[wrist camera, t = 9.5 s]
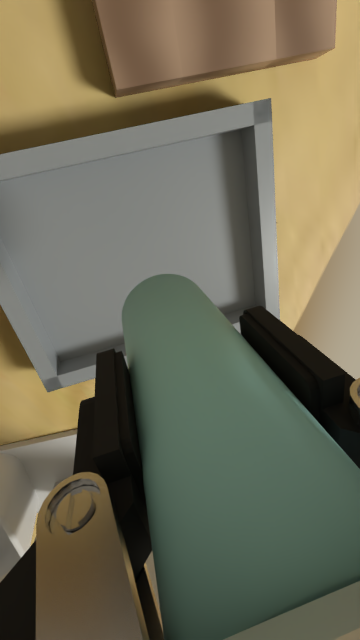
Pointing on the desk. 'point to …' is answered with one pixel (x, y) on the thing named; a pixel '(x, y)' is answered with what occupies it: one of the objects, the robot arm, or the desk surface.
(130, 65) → the socket
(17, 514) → the grey holder stand
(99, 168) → the tray
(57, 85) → the desk surface
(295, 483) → the dowel
